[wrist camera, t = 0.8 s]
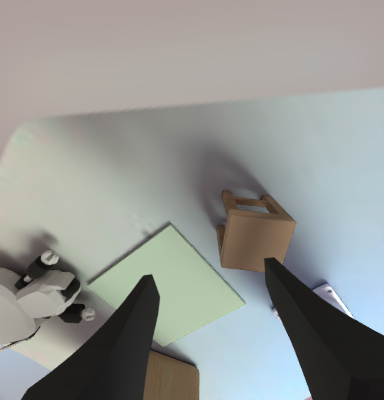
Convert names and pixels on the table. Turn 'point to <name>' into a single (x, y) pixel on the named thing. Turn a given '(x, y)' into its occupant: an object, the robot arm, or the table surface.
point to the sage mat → (171, 285)
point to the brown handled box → (253, 233)
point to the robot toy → (37, 299)
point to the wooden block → (170, 379)
